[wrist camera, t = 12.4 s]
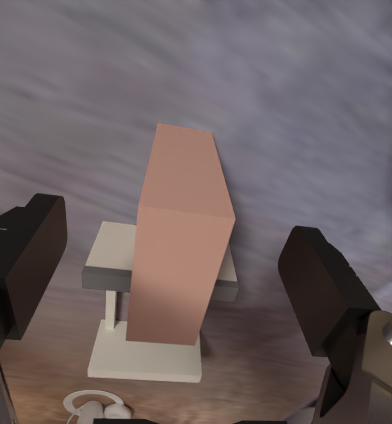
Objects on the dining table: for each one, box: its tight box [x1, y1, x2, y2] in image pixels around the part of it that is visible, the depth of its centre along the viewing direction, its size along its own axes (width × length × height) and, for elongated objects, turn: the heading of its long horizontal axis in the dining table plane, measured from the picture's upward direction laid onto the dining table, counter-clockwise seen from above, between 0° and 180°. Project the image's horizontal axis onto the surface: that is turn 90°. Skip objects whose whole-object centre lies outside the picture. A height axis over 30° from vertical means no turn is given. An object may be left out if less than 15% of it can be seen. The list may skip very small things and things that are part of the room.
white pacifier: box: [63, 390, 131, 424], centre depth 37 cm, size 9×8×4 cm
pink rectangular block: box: [126, 123, 236, 346], centre depth 16 cm, size 8×4×10 cm, turn 169°
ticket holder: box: [82, 221, 239, 383], centre depth 24 cm, size 14×10×6 cm
